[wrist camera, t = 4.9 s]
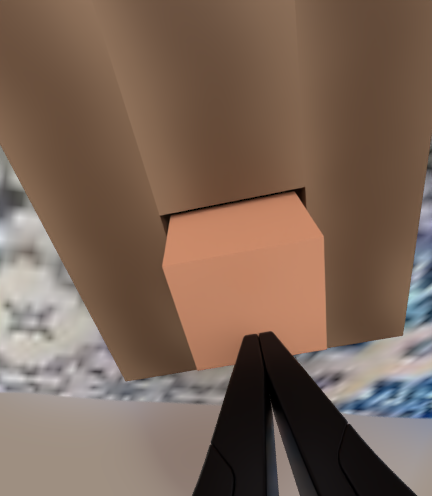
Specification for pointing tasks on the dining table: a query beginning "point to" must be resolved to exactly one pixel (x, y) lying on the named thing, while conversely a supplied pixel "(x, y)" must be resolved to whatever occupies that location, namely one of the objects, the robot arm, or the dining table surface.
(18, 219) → the dining table surface
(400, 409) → the dining table surface
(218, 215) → the terracotta plunger
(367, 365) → the dining table surface
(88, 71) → the button panel
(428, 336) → the dining table surface
